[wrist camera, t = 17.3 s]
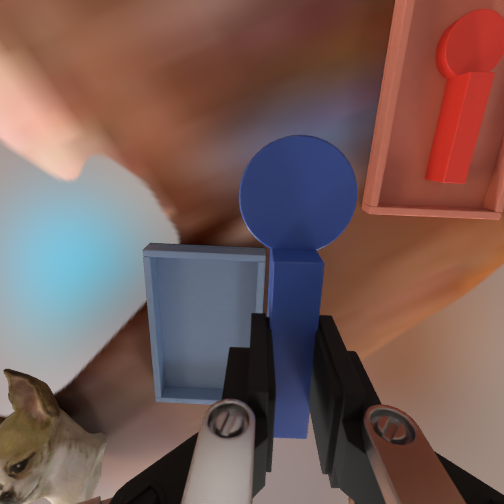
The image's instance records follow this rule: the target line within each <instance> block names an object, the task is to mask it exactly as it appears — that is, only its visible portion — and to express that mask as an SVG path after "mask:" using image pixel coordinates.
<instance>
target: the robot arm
mask: <svg viewBox="0 0 504 504" xmlns="http://www.w3.org/2000/svg"><path fill="white" fill-rule="evenodd" d="M275 405H276V381H275V367H274V354H273V340H272V330H270V322H269V317H266V316H265V313H251V333H250V347H230V348H229V353H228V360H227V367H226V373H225V380H224V387H223V393H222V400H220V401H217V402H215V403H214V404H212V405H210V406H209V408H208V409H207V410H206V411H205V413H204V415H203V418H202V422H201V426H200V430H199V432H198V433H196V434H195V435H193V436H192V437H190V438H189V439H188V440H186V441H185V442H183V443H182V444H181V445H179V446H178V447H176V448H175V449H174V450H172V451H171V452H169V453H168V454H167V455H165V456H164V457H162V458H161V459H160V460H158V461H157V462H155V463H154V464H152V465H151V466H150V467H148V468H147V469H145V470H144V471H143V472H141V473H140V474H138V475H137V476H136V477H134V478H133V479H131V480H130V481H129V482H127V483H126V484H125V485H124V486H123V487H121V488H120V489H119V490H118V491H117V492H116V494H115V495H114V497H113V498H109V499H106V500H103V501H101V498H100V496H99V497H96V498H93V499H90V500H86V501H83V502H80V503H77V504H252V499H253V497H254V496H255V495H256V494H257V493H258V492H259V491H260V490H261V489H262V488H263V487H264V486H265V475H266V472H271V465H272V451H273V436H274V420H275ZM309 408H310V414H311V419H312V423H313V429H314V434H315V439H316V444H317V449H318V454H319V460H320V465H321V469H322V473H323V474H328V475H329V480H330V484H331V488H340V489H341V490H342V491H343V492H344V493H345V494H346V495H348V496H349V504H504V495H503V494H501V493H499V492H498V491H496V490H495V489H493V488H492V487H490V486H488V485H487V484H485V483H484V482H482V481H481V480H479V479H477V478H476V477H474V476H473V475H471V474H469V473H468V472H466V471H465V470H463V469H461V468H460V467H458V466H456V465H455V464H453V463H452V462H450V461H449V460H447V459H446V458H444V457H442V456H441V455H439V454H437V453H436V452H435V451H433V449H432V447H431V446H430V444H429V442H428V441H427V439H426V438H425V436H424V434H423V433H422V431H421V429H420V428H419V426H418V425H417V424H416V422H415V421H414V420H413V419H412V418H411V417H410V416H409V415H407V414H406V413H405V412H403V411H401V410H399V409H398V408H395V407H392V406H389V405H382V404H381V402H380V400H379V398H378V396H377V394H376V392H375V390H374V388H373V386H372V383H371V382H370V380H369V377H368V375H367V373H366V371H365V369H364V367H363V365H362V363H361V361H360V359H359V357H358V355H357V353H356V352H355V351H347V350H346V347H345V345H344V343H343V341H342V338H341V336H340V334H339V331H338V329H337V327H336V325H335V322H334V320H333V318H332V316H327V315H319V325H318V331H317V332H316V335H315V345H314V355H313V365H312V375H311V385H310V395H309Z"/></svg>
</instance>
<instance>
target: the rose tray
mask: <svg viewBox="0 0 504 504" xmlns="http://www.w3.org/2000/svg"><path fill="white" fill-rule="evenodd" d="M477 9H491V10H494V11H496V12H497V13H499V14H500V15H501V16H502V17H503V19H504V0H395V6H394V13H393V19H392V25H391V31H390V37H389V43H388V49H387V55H386V61H385V67H384V74H383V80H382V86H381V92H380V98H379V104H378V110H377V116H376V122H375V128H374V135H373V141H372V147H371V153H370V159H369V165H368V171H367V177H366V183H365V189H364V196H363V202H362V208H361V209H362V210H364V211H365V212H367V213H369V214H382V215H405V216H427V217H450V218H473V219H495V220H500V218H501V215H502V212H503V209H504V54H503V56H502V58H501V60H500V61H499V63H498V64H497V65H496V66H495V67H494V68H493V69H492V70H491V71H490V72H495V76H494V79H493V83H492V87H491V90H490V94H489V98H488V101H487V105H486V109H485V112H484V116H483V120H482V123H481V127H480V131H479V134H478V138H477V142H476V145H475V149H474V153H473V156H472V160H471V164H470V167H469V171H468V175H467V178H466V182H465V184H455V183H441V182H436V181H431V180H426V179H425V175H426V170H427V166H428V161H429V157H430V153H431V148H432V144H433V139H434V135H435V130H436V126H437V122H438V117H439V113H440V108H441V104H442V100H443V95H444V91H445V86H446V82H447V79H445V78H444V77H443V76H442V75H441V74H440V72H439V70H438V68H437V65H436V49H437V45H438V42H439V40H440V38H441V36H442V34H443V33H444V31H445V30H446V29H447V28H448V27H449V26H450V25H451V24H452V23H453V22H455V21H456V20H458V19H459V18H461V17H463V16H464V15H466V14H467V13H469V12H471V11H474V10H477Z"/></svg>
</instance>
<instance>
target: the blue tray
mask: <svg viewBox="0 0 504 504" xmlns="http://www.w3.org/2000/svg"><path fill="white" fill-rule="evenodd" d="M143 256H144V257H143V260H144V272H145V283H146V295H147V307H148V318H149V330H150V341H151V353H152V365H153V376H154V388H155V400H156V402H171V403H192V404H214V403H215V402H217V401H220V400H222V393H223V387H224V380H225V373H226V367H227V360H228V353H229V348H230V347H250V333H251V313H263V296H264V279H265V261H266V249H265V248H251V247H229V246H207V245H185V244H163V243H150V244H149V245H148V246H146V247H145V248H144V249H143Z"/></svg>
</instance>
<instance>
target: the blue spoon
mask: <svg viewBox="0 0 504 504" xmlns="http://www.w3.org/2000/svg"><path fill="white" fill-rule="evenodd" d="M356 202H357V182H356V178H355V174H354V171H353V169H352V167H351V165H350V163H349V161H348V160H347V158H346V157H345V156H344V154H343V153H342V152H341V151H340V150H339V149H337V148H336V147H335V146H334V145H332V144H331V143H329V142H327V141H325V140H323V139H320V138H318V137H314V136H309V135H292V136H287V137H283V138H280V139H277V140H275V141H273V142H271V143H269V144H268V145H266V146H265V147H263V148H262V149H261V150H260V151H259V152H258V153H257V154H256V155H255V156H254V157H253V158H252V159H251V161H250V162H249V164H248V165H247V167H246V169H245V171H244V173H243V176H242V179H241V183H240V188H239V206H240V211H241V215H242V218H243V220H244V222H245V224H246V226H247V228H248V229H249V231H250V232H251V233H252V235H253V236H254V237H255V238H256V239H257V240H258V241H260V242H261V243H262V244H264V245H265V246H267V247H269V248H270V266H269V288H268V309H267V317H269V322H270V330H272V340H273V354H274V367H275V381H276V405H275V420H274V436H273V437H274V438H296V439H306V438H307V433H308V423H309V414H310V408H309V395H310V385H311V375H312V365H313V355H314V345H315V335H316V332H317V331H318V325H319V315H320V305H321V295H322V285H323V275H324V265H325V264H324V262H323V260H322V259H321V257H320V256H319V254H318V252H317V251H316V250H319V249H321V248H323V247H325V246H327V245H329V244H330V243H331V242H333V241H334V240H335V239H336V238H337V237H338V236H339V235H341V233H342V232H343V231H344V230H345V228H346V227H347V225H348V224H349V222H350V220H351V218H352V216H353V213H354V210H355V207H356Z"/></svg>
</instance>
